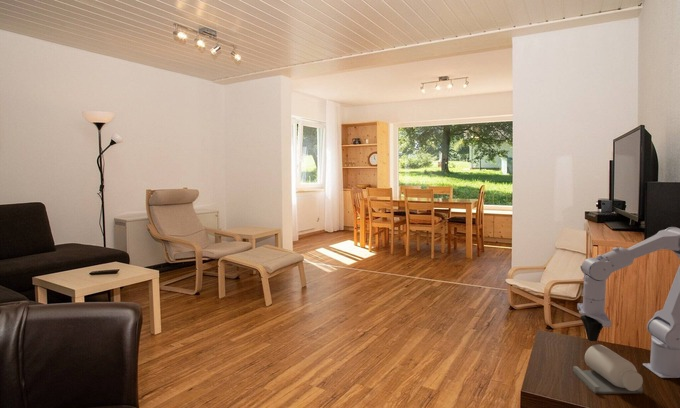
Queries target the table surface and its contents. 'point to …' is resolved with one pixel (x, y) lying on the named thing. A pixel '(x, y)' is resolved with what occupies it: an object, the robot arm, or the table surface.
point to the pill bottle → (613, 367)
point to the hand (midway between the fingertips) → (592, 340)
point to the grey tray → (599, 382)
